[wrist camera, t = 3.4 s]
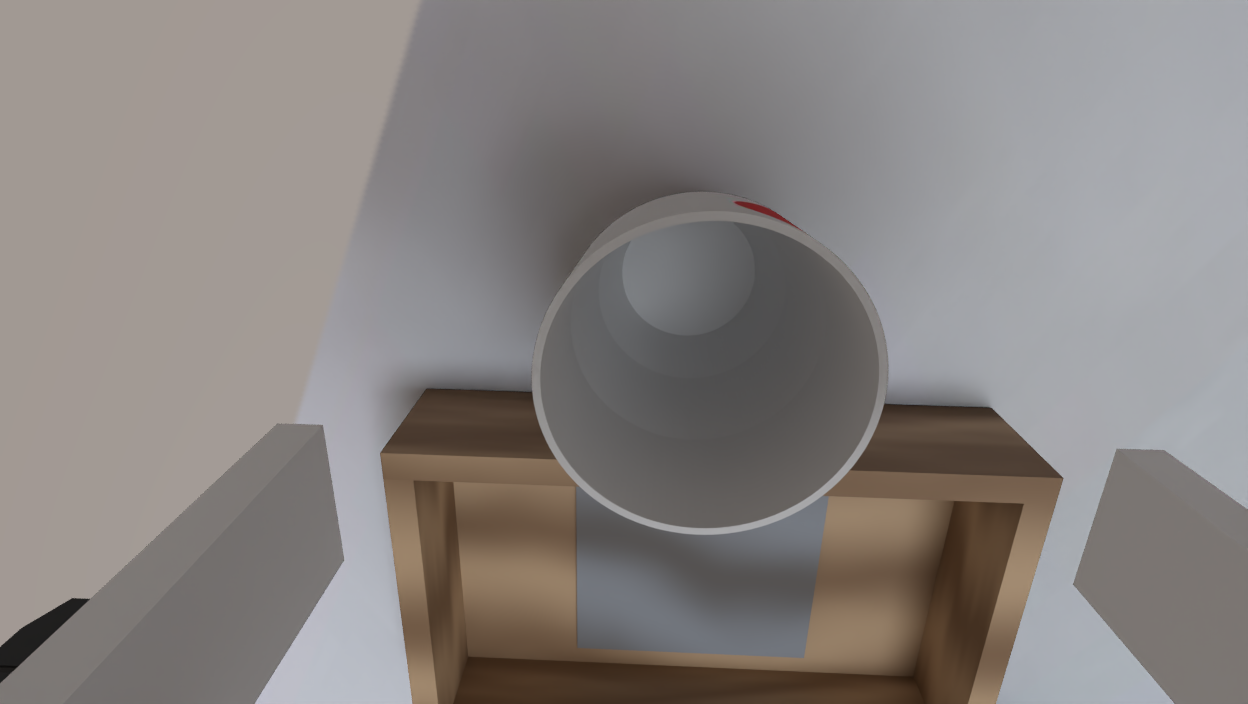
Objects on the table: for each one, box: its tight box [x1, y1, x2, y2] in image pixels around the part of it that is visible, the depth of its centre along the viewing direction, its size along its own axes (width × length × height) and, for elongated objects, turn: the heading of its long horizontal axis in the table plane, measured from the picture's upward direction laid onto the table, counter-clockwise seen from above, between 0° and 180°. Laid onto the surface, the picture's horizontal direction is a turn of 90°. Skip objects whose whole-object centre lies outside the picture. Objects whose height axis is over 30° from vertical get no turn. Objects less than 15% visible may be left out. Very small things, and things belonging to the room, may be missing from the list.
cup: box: [532, 192, 888, 535], centre depth 20 cm, size 8×8×10 cm
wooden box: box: [380, 389, 1063, 704], centre depth 27 cm, size 14×22×5 cm, turn 89°
